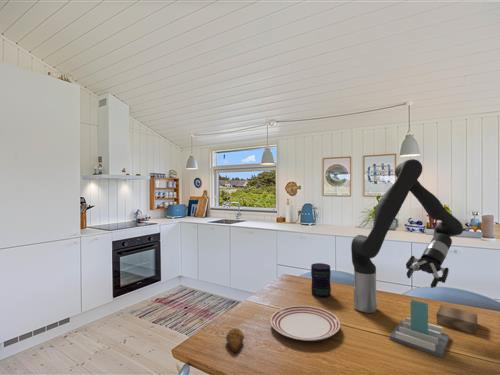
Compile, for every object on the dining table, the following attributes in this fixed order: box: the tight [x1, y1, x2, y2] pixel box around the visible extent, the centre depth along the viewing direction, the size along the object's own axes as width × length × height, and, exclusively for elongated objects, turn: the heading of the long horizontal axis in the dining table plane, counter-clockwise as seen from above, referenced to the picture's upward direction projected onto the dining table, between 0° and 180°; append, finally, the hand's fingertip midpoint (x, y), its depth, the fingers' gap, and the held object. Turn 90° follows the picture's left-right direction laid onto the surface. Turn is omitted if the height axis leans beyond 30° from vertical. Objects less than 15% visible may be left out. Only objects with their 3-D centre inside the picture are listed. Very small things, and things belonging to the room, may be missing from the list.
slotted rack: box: [389, 316, 451, 358], centre depth 99 cm, size 16×15×3 cm
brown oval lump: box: [225, 327, 245, 354], centre depth 99 cm, size 14×7×5 cm, turn 2°
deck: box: [436, 304, 478, 335], centre depth 109 cm, size 12×10×4 cm
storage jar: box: [310, 262, 332, 299], centre depth 140 cm, size 10×10×15 cm
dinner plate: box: [270, 305, 341, 342], centre depth 109 cm, size 28×27×3 cm
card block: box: [410, 299, 429, 335], centre depth 99 cm, size 5×2×12 cm, turn 46°
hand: (419, 281), depth 109 cm, fingers open, 8 cm apart
